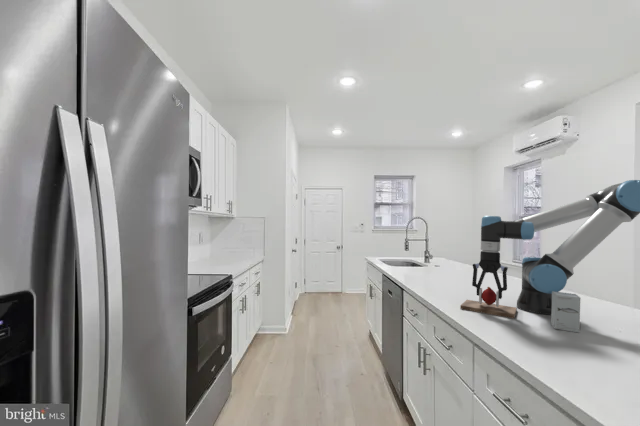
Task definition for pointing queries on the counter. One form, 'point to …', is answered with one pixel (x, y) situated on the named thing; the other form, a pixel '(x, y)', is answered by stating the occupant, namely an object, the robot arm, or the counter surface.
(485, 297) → the onion
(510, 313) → the walnut board
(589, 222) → the robot arm
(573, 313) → the supplement box
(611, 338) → the counter surface
